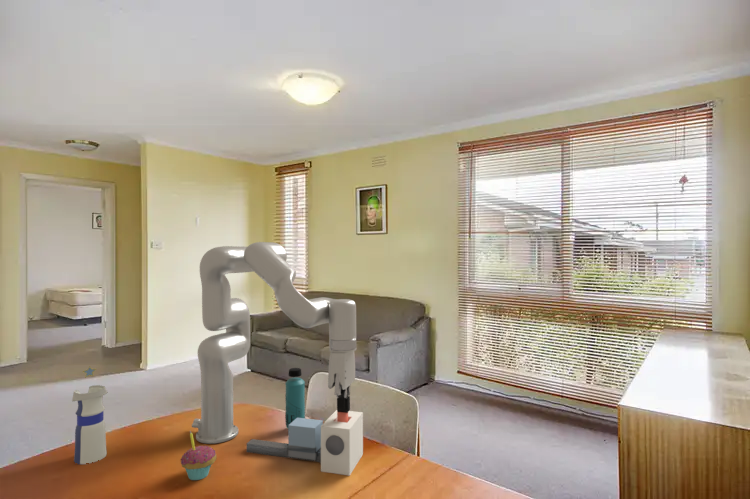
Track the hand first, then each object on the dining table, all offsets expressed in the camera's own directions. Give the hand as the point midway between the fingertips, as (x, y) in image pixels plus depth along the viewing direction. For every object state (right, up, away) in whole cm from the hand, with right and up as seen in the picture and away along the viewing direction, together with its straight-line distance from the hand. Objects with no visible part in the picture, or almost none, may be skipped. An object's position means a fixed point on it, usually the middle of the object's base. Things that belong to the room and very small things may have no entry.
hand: (343, 411), depth 118 cm
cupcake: (-37, -15, -6) cm, 40 cm away
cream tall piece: (-72, -15, +3) cm, 73 cm away
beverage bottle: (-17, -14, +21) cm, 31 cm away
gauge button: (0, -7, 0) cm, 7 cm away
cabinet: (0, -14, 0) cm, 14 cm away
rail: (-16, -14, +4) cm, 22 cm away
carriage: (-11, -13, +3) cm, 17 cm away
